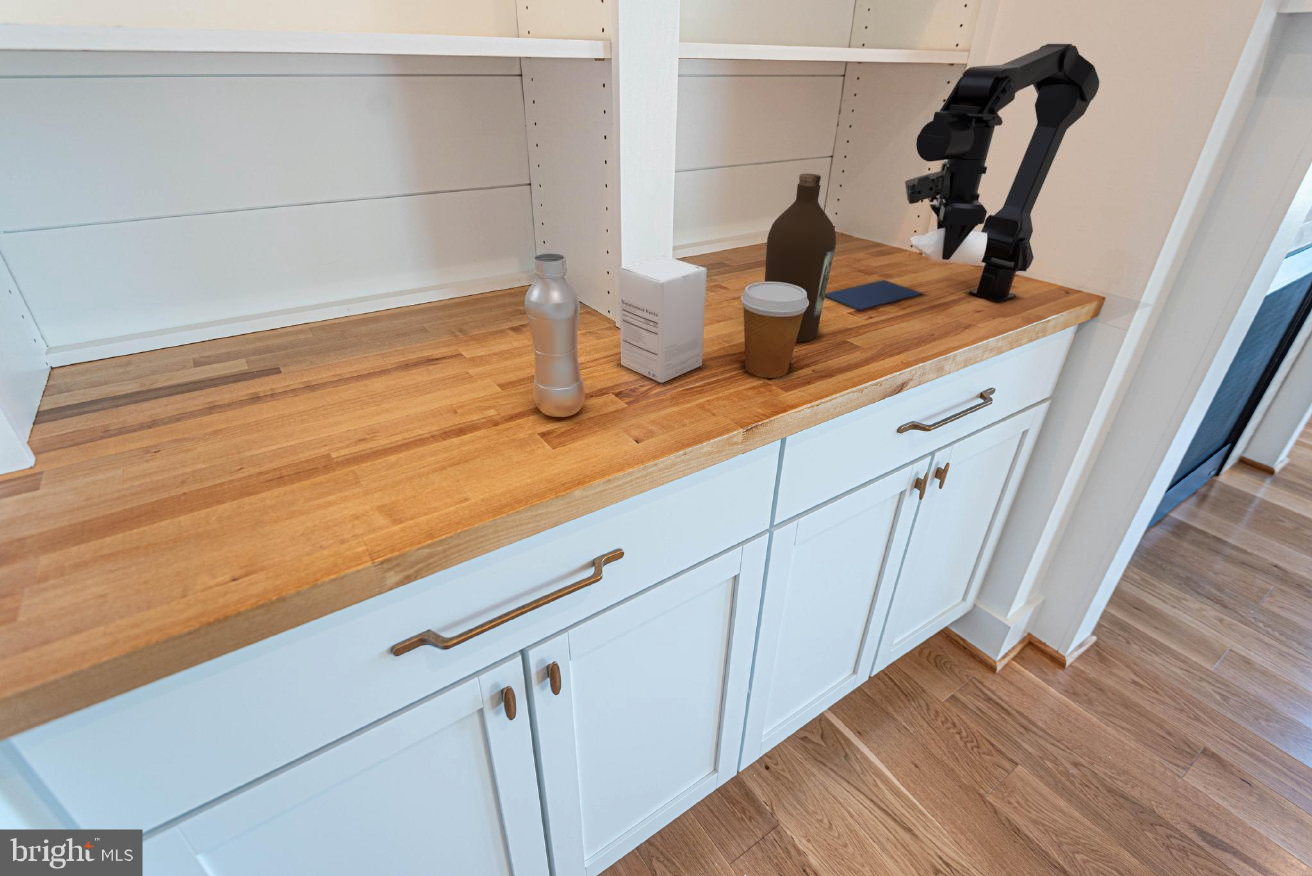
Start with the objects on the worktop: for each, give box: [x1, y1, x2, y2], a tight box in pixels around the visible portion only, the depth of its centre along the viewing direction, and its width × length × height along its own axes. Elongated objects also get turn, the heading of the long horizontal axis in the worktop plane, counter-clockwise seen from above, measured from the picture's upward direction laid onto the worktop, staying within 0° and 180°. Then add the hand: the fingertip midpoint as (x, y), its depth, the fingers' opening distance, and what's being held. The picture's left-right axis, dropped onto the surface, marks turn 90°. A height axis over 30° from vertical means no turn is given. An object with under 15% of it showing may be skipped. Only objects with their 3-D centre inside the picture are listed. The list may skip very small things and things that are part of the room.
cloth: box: [824, 280, 923, 311], centre depth 125 cm, size 18×10×1 cm, turn 123°
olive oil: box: [764, 173, 837, 344], centre depth 101 cm, size 11×11×25 cm
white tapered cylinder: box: [908, 228, 987, 267], centre depth 109 cm, size 6×12×6 cm, turn 72°
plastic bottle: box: [524, 252, 586, 418], centre depth 78 cm, size 6×7×20 cm
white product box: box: [618, 255, 708, 384], centre depth 91 cm, size 9×9×15 cm
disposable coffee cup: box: [740, 281, 809, 379], centre depth 92 cm, size 10×10×12 cm
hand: (942, 254), depth 110 cm, fingers closed on white tapered cylinder, 6 cm apart
